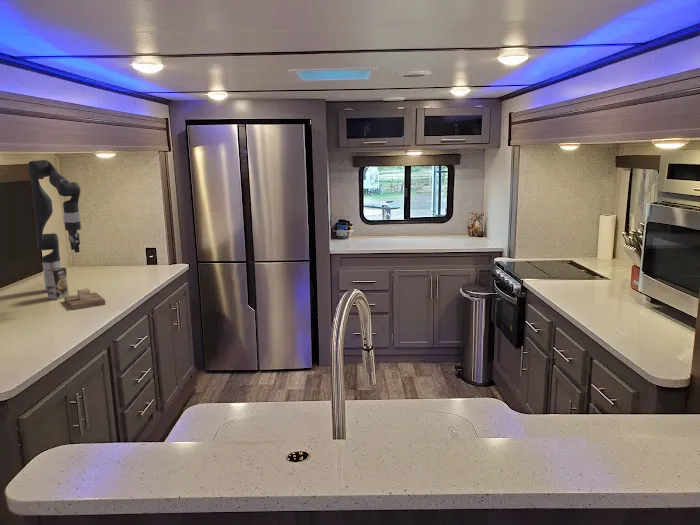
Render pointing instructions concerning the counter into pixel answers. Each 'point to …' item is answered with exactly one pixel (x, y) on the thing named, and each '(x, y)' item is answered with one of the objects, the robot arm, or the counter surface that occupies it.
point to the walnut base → (84, 301)
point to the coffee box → (57, 283)
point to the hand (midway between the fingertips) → (75, 250)
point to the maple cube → (83, 293)
